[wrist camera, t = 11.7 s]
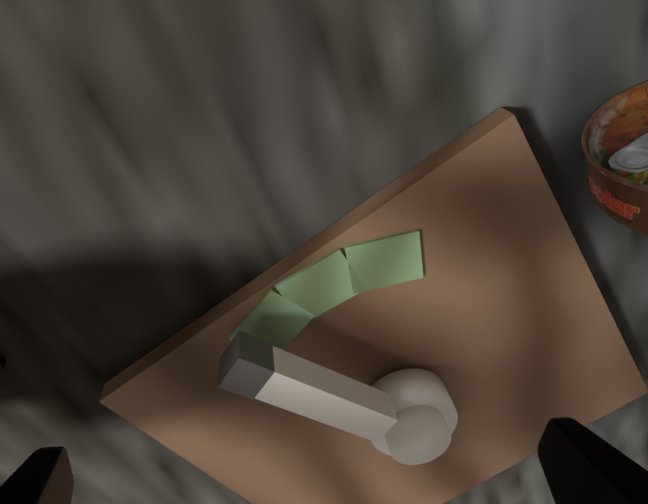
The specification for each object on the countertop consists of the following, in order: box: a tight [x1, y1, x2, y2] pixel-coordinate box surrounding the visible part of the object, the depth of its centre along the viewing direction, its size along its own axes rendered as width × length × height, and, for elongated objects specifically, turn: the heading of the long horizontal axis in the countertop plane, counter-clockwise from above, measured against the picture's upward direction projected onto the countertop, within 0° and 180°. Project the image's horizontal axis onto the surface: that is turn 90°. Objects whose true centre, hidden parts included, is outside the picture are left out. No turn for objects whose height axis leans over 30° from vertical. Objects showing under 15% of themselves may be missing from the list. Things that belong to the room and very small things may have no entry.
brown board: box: [99, 107, 648, 504], centre depth 26 cm, size 22×20×1 cm
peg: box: [218, 330, 458, 465], centre depth 23 cm, size 12×4×3 cm, turn 56°
